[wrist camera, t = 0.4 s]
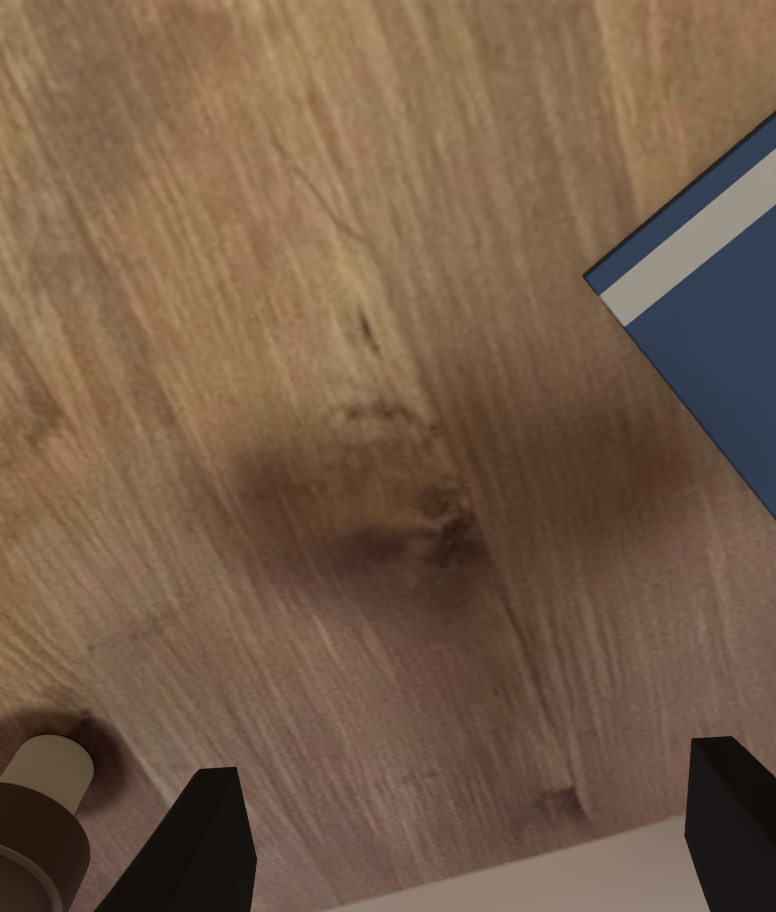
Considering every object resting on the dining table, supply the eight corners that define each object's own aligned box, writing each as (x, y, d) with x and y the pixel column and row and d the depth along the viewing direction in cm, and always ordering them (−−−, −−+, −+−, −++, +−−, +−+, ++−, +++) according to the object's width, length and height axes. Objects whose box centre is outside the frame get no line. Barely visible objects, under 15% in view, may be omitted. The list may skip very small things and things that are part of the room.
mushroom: (140, 814, 27) (52, 1027, 20) (5, 819, 27) (-127, 1032, 20) (111, 703, 25) (4, 897, 18) (-34, 709, 25) (-193, 904, 18)
